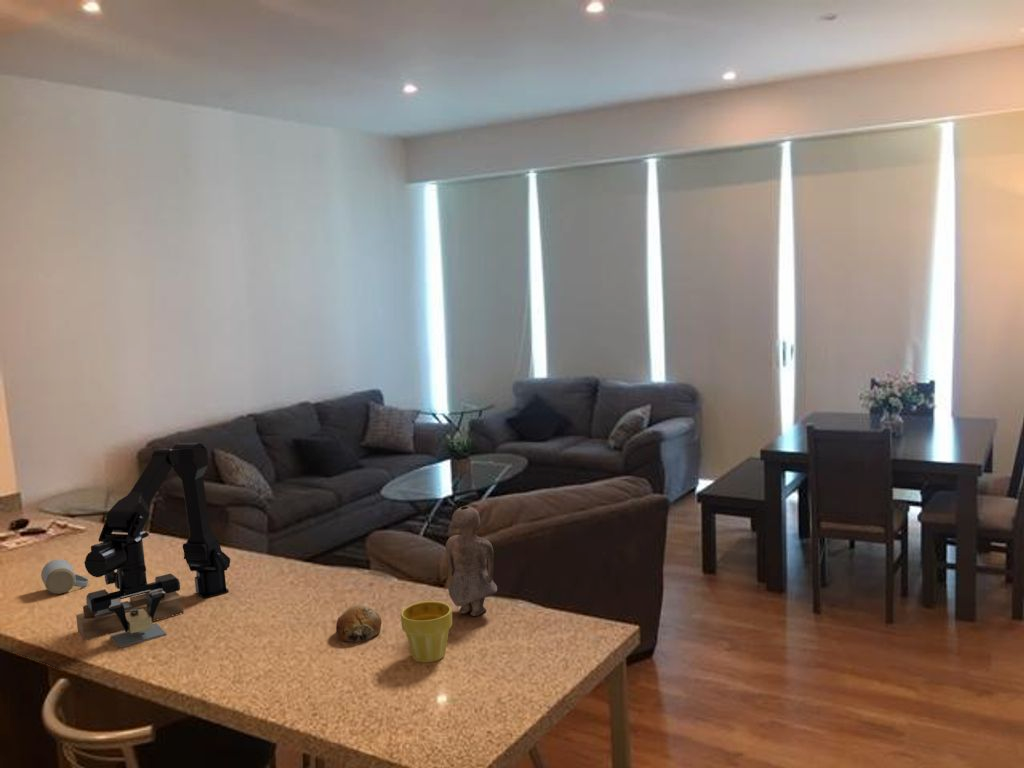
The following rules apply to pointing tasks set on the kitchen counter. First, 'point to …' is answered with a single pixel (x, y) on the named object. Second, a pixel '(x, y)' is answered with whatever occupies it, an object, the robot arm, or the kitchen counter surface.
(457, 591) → the clay figurine
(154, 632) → the mat
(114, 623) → the plane body
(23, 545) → the kitchen counter surface
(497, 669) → the kitchen counter surface
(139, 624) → the lever cap
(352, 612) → the bread roll
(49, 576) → the ceramic mug
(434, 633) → the plant pot
